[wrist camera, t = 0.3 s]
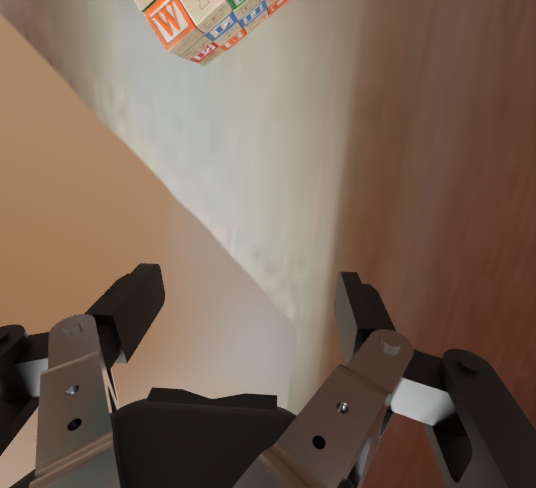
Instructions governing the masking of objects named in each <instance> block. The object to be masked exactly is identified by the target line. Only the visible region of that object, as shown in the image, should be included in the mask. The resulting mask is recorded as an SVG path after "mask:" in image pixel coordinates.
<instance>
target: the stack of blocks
mask: <svg viewBox="0 0 536 488" xmlns="http://www.w3.org/2000/svg"><path fill="white" fill-rule="evenodd" d="M134 1H135V3H136V4H137V6H138V7H139V9H140V10H141V11H142V12H144V16H145V18H146V20H147V21H148V23H149V24H150V26H151V27H152V29H153V30H154V32H155V34H156V35H157V37H158V38H159V40H160V41H161V43H162V44H163V46H164V47H165V49H166V50H167V51H168V52H170V53H173V54H176V55H178V56H179V57H183V58H185V59H187V60H191V61H194V62H197V63H198V64H201V65H204V66H206V65H207V64H209V63H210V62H211V61H212V60H214V59H215V58H216V57H218V56H219V55H220V54H221V53H223V52H224V51H226V50H228V49H229V48H230V47H232V46H233V45H234V44H236V43H237V42H238V41H239V40H241V39H242V38H243V37H244V36H246V35H247V34H248V33H250V32H251V31H252V30H254V29H255V28H256V27H257V26H259V25H260V24H261V23H263V22H264V21H265V20H266V19H268V18H269V15H271V14H272V13H273V12H275V11H276V10H277V9H278V8H279V7H281V6H282V5H283V4H285V3H286V2H287V1H288V0H134Z"/></svg>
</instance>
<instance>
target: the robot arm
mask: <svg viewBox="0 0 536 488" xmlns="http://www.w3.org/2000/svg"><path fill="white" fill-rule="evenodd" d="M164 300H165V291H164V285H163V280H162V275H161V269H160V266H159V265H158V264H145V263H141V264H139V265H138V266H137V267H136V268H135V269H134V270H133V271H132V272H131V274H126V275H125V276H123V277H121V278H120V279H118V280H117V281H116V282H115V283H114V284H113V285H112V286H111V287H110V289H108V290H107V291H106V292H105V294H104V295H102V296H101V297H100V298H99V299H98V301H96V302H95V303H94V304H93V305H92V306H91V307H90V308H89V310H88V311H87V312H86V313H85V314H79V315H74V316H71V317H68V318H66V319H64V320H62V321H60V322H59V323H57V324H56V325H54V326H53V328H52V329H51V331H50V332H46V333H40V334H34V335H27V333H26V331H25V329H24V327H23V326H21V325H7V326H2V327H0V456H1V454H2V453H3V452H4V450H5V449H6V448H7V447H8V445H9V444H10V442H11V441H12V440H13V439H14V437H15V436H16V435H17V433H18V432H19V431H20V429H21V428H22V427H23V426H24V424H25V423H26V422H27V420H28V419H29V418H30V416H31V415H32V414H33V412H34V411H35V410H36V408H37V407H38V406H39V408H38V428H37V446H36V465H35V469H34V470H33V471H32V472H30V473H29V474H27V475H26V476H25V477H23V478H22V479H21V480H19V481H18V482H16V483H15V484H14V485H12V486H11V487H10V488H360V487H361V484H362V482H363V480H364V478H365V476H366V474H367V471H368V469H369V466H370V464H371V461H372V458H373V456H374V454H375V452H376V450H377V448H378V446H379V444H380V442H381V440H382V438H383V436H384V434H385V432H386V430H387V428H388V426H389V424H390V422H391V419H392V417H393V415H394V413H395V412H396V413H399V414H402V415H404V416H407V417H410V418H413V419H415V420H418V421H421V422H423V424H424V427H425V430H426V433H427V435H428V438H429V441H430V444H431V447H432V449H433V452H434V455H435V458H436V461H437V464H438V466H439V469H440V472H441V475H442V478H443V480H444V483H445V486H446V488H536V430H535V428H534V427H533V426H532V424H531V423H530V421H529V420H528V418H527V417H526V415H525V414H524V412H523V411H522V410H521V408H520V407H519V405H518V404H517V402H516V401H515V399H514V398H513V397H512V395H511V394H510V392H509V391H508V389H507V388H506V386H505V385H504V384H503V382H502V381H501V379H500V378H499V376H498V375H497V373H496V372H495V370H494V369H493V368H492V367H491V365H490V364H489V363H488V362H486V361H485V360H484V359H482V358H481V357H479V356H478V355H476V354H474V353H471V352H469V351H465V350H461V349H451V350H448V351H446V352H445V353H444V355H443V357H442V358H440V357H436V356H433V355H429V354H426V353H423V352H420V351H417V350H415V349H414V348H413V345H412V344H411V342H410V341H409V340H408V339H407V338H406V337H405V336H403V335H402V334H400V333H398V332H396V330H395V328H394V325H393V323H392V321H391V319H390V317H389V315H388V313H387V310H386V308H385V306H384V304H383V302H382V300H381V298H380V295H379V293H378V291H377V290H375V289H374V288H373V287H372V286H371V285H370V284H362V283H361V281H360V278H359V276H358V273H357V272H339V274H338V280H337V287H336V295H335V303H334V310H335V317H336V322H337V327H338V331H339V336H340V341H341V345H342V350H343V355H344V359H345V364H346V367H345V366H344V365H342V364H340V365H338V366H337V367H336V368H335V370H334V371H333V372H332V373H331V375H330V376H329V377H328V378H327V380H326V381H325V382H324V383H323V385H322V386H321V387H320V388H319V389H318V391H317V392H316V393H315V394H314V396H313V397H312V398H311V399H310V401H309V402H308V403H307V404H306V406H305V407H304V408H303V409H302V411H301V412H300V413H299V414H298V416H296V415H295V414H293V413H291V412H290V411H288V410H286V409H284V408H281V407H278V406H277V396H276V395H261V394H240V395H234V396H229V397H223V398H217V399H209V398H206V397H203V396H200V395H197V394H194V393H191V392H188V391H185V390H183V389H168V388H152V389H151V391H150V393H149V395H148V397H147V398H146V399H142V400H139V401H135V402H133V403H130V404H127V405H125V406H124V407H121V408H120V406H119V401H118V397H117V392H116V387H115V382H114V378H113V373H112V370H111V367H112V366H113V364H114V363H128V361H129V359H130V358H131V356H132V355H133V353H134V351H135V350H136V348H137V347H138V345H139V343H140V342H141V340H142V338H143V337H144V335H145V333H146V332H147V330H148V329H149V327H150V326H151V324H152V322H153V321H154V319H155V318H156V316H157V314H158V313H159V311H160V310H161V308H162V306H163V304H164Z"/></svg>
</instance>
